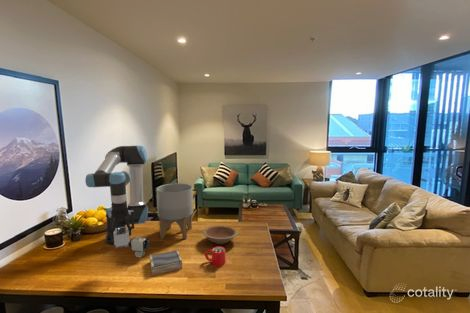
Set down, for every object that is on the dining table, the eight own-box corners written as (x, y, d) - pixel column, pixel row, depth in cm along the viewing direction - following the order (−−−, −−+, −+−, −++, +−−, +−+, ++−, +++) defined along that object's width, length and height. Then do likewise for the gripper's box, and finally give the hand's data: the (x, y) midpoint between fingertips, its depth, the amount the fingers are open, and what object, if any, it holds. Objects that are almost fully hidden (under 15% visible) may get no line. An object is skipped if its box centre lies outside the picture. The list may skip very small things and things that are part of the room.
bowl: (244, 243, 174) (244, 232, 173) (213, 254, 161) (213, 242, 160) (225, 231, 193) (225, 220, 192) (196, 239, 180) (196, 228, 179)
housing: (116, 240, 145) (115, 228, 144) (127, 238, 147) (127, 226, 146) (115, 248, 136) (114, 235, 135) (128, 246, 138) (127, 233, 137)
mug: (206, 258, 156) (206, 245, 155) (226, 258, 155) (226, 246, 154) (203, 265, 148) (203, 252, 147) (224, 266, 148) (224, 253, 146)
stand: (149, 262, 152) (149, 254, 151) (177, 256, 158) (177, 248, 157) (152, 275, 139) (151, 266, 138) (182, 268, 145) (182, 260, 145)
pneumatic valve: (146, 259, 155) (145, 240, 153) (129, 257, 157) (127, 238, 156) (151, 254, 160) (150, 236, 159) (134, 252, 163) (133, 234, 161)
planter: (182, 223, 207) (180, 181, 202) (200, 233, 189) (199, 187, 184) (152, 232, 190) (150, 187, 185) (169, 244, 172) (167, 194, 167)
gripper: (98, 206, 131) (102, 249, 134) (138, 201, 138) (141, 242, 142) (99, 201, 138) (103, 242, 141) (137, 197, 145) (140, 236, 149)
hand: (122, 242), depth 142 cm, fingers closed on housing, 6 cm apart
